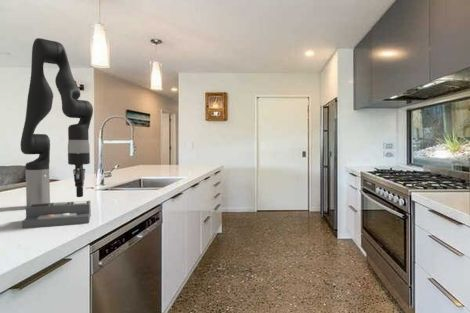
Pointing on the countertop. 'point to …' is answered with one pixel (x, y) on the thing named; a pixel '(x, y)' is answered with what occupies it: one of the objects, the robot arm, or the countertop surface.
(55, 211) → the keypad
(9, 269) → the countertop surface
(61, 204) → the key sage
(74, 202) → the key cream
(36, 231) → the countertop surface
